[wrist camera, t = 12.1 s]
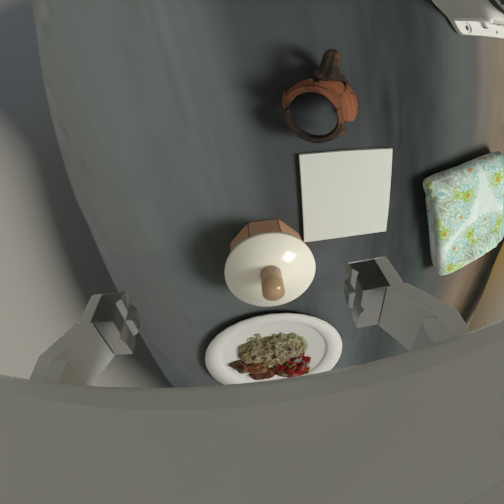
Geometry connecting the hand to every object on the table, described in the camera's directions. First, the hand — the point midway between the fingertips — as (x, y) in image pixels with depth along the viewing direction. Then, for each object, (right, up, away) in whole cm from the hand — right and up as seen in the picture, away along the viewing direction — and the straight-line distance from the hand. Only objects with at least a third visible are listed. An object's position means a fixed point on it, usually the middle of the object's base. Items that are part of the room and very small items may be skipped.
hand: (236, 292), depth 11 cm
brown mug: (+9, +22, +24) cm, 34 cm away
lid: (+3, -1, +33) cm, 33 cm away
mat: (+15, +10, +32) cm, 37 cm away
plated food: (+5, -21, +53) cm, 57 cm away
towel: (+40, +9, +35) cm, 54 cm away
